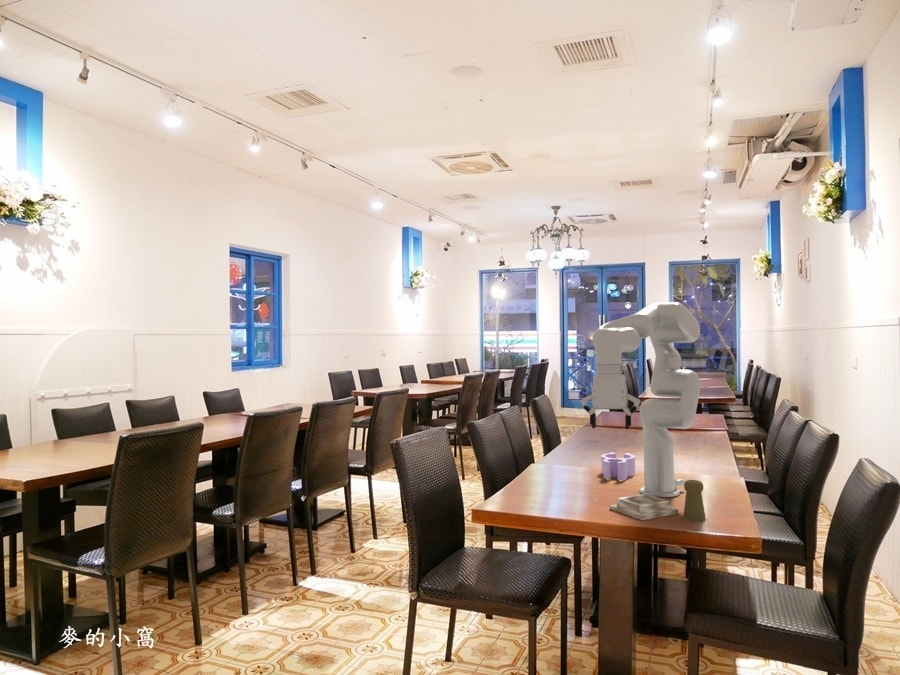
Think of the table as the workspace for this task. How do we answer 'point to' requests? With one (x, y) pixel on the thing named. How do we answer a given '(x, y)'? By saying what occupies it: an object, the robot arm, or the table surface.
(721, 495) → the table surface
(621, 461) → the clip
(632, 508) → the socket board
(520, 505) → the table surface
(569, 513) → the table surface
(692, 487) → the cork
